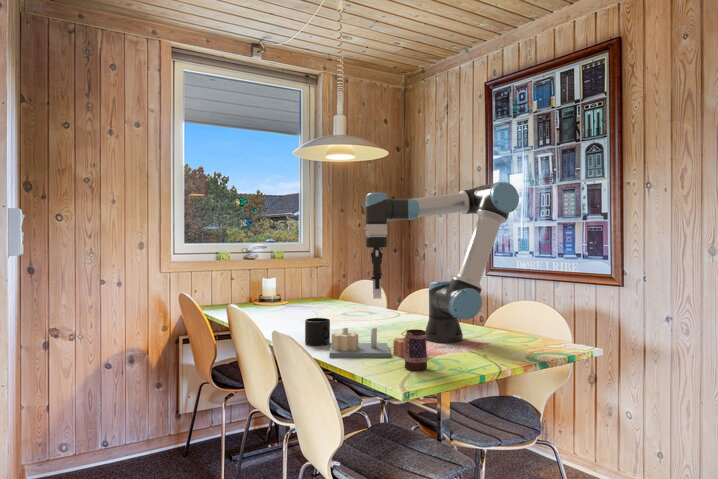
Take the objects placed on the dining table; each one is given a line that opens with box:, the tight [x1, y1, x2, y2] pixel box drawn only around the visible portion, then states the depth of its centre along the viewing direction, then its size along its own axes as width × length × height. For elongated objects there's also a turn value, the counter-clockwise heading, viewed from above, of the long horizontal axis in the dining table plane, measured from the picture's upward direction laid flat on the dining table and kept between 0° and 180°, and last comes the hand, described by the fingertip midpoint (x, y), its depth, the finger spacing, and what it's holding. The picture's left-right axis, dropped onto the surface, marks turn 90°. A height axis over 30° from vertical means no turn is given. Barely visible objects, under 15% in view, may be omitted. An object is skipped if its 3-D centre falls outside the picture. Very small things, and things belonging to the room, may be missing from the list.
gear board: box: [328, 327, 391, 358], centre depth 177 cm, size 21×16×8 cm
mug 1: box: [304, 317, 331, 347], centre depth 191 cm, size 9×12×9 cm
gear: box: [392, 336, 405, 358], centre depth 174 cm, size 9×9×5 cm
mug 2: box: [404, 328, 428, 372], centre depth 154 cm, size 10×7×12 cm
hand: (376, 296), depth 178 cm, fingers open, 13 cm apart
